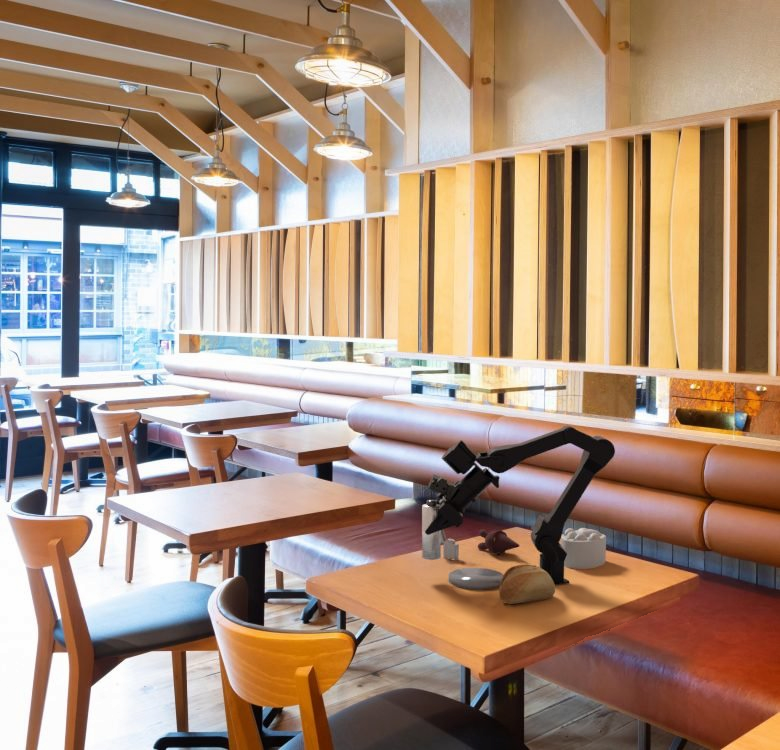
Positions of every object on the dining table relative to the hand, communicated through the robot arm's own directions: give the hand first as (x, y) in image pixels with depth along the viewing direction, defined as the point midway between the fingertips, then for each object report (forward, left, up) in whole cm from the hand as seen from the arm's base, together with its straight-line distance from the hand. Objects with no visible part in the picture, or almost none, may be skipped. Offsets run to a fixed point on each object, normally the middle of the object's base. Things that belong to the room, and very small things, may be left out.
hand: (426, 531), depth 202 cm
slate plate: (-5, -12, -12) cm, 18 cm away
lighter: (+16, -13, -12) cm, 24 cm away
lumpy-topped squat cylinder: (0, -45, -13) cm, 47 cm away
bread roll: (-22, -16, -13) cm, 30 cm away
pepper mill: (-1, -1, -7) cm, 7 cm away
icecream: (+15, -28, -13) cm, 34 cm away
